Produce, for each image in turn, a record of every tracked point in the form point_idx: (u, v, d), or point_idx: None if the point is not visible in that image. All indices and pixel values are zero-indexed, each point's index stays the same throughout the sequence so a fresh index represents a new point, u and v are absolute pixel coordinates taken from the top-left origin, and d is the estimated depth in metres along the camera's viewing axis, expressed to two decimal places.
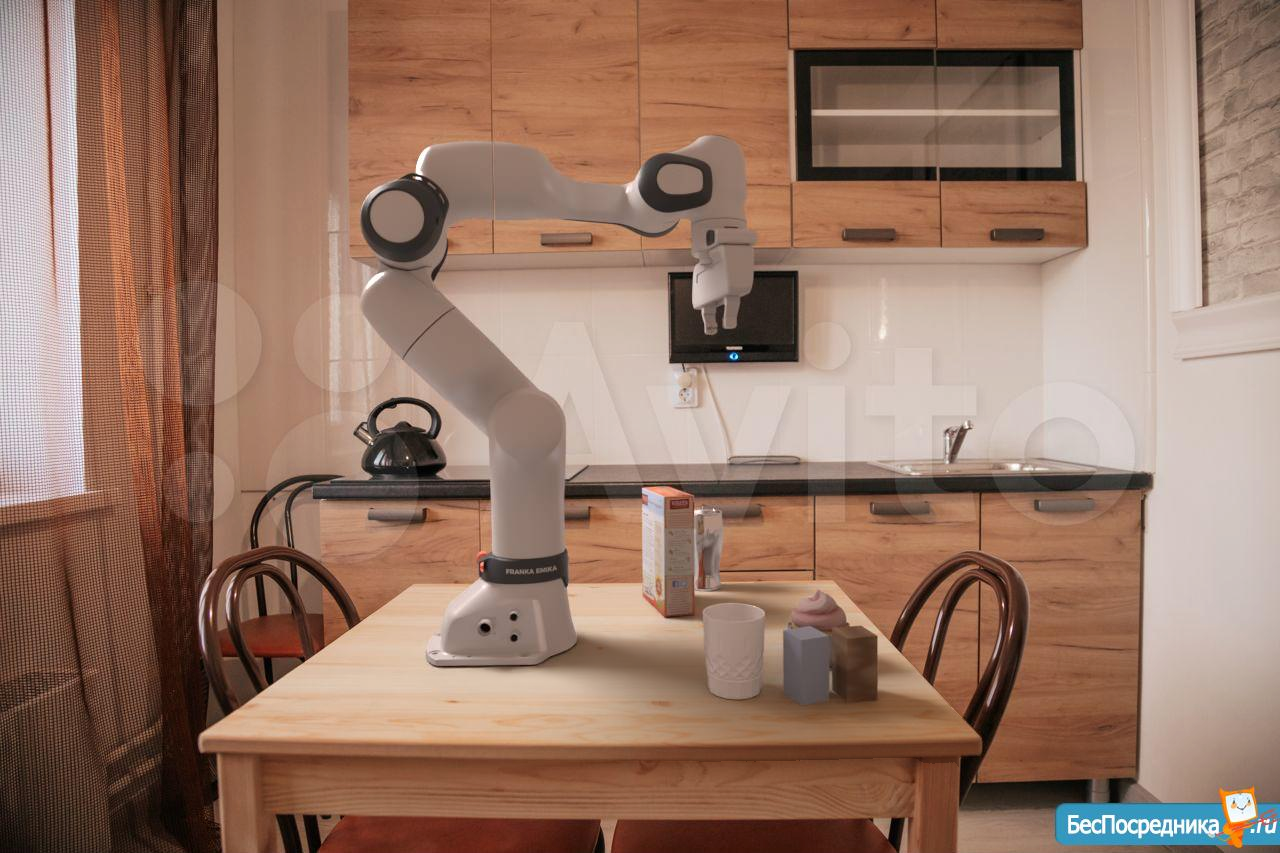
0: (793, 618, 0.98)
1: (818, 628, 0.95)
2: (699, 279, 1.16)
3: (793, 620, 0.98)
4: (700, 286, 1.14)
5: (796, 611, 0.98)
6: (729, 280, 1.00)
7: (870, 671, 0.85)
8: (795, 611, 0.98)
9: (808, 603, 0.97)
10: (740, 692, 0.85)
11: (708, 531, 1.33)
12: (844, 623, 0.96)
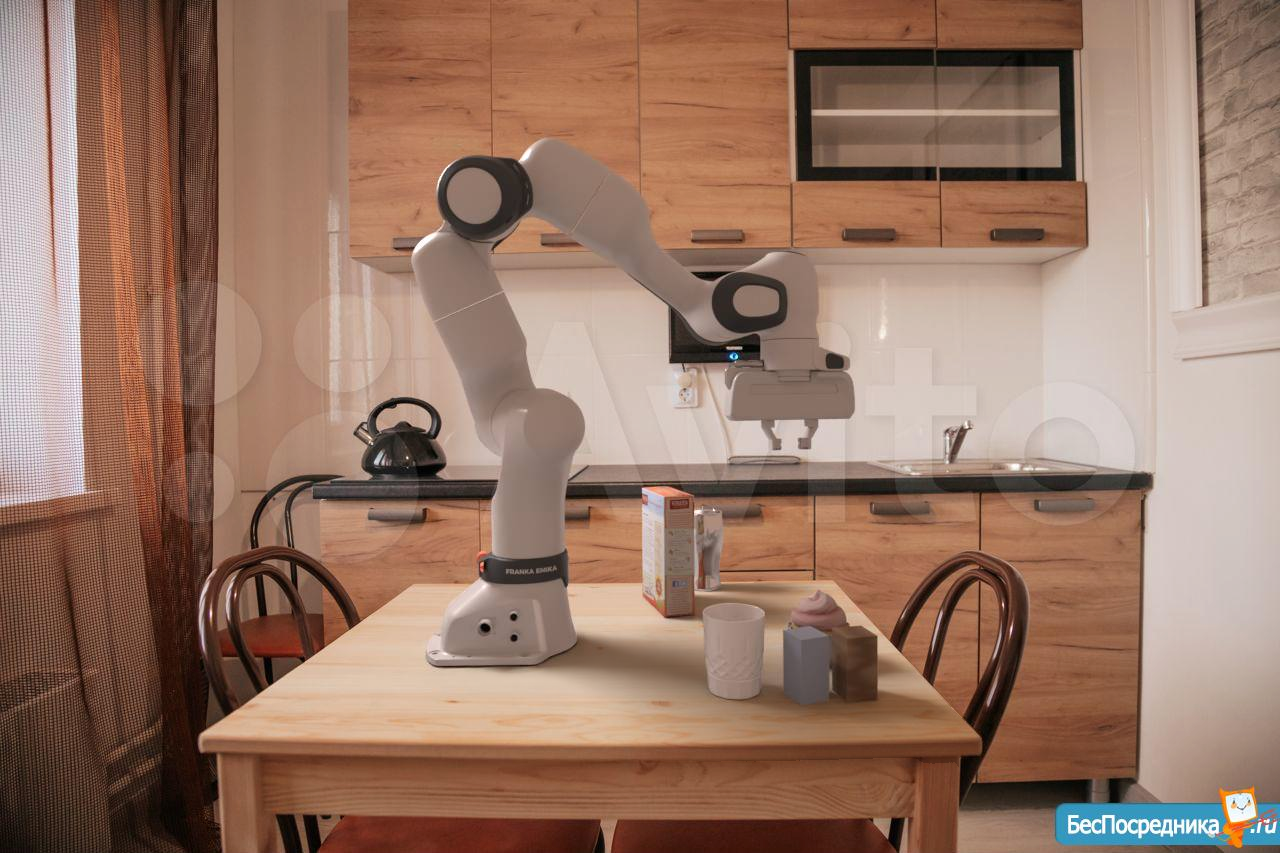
0: (793, 618, 0.98)
1: (818, 628, 0.95)
2: (757, 390, 1.04)
3: (793, 620, 0.98)
4: (765, 398, 1.04)
5: (796, 611, 0.98)
6: (854, 407, 1.07)
7: (870, 671, 0.85)
8: (795, 611, 0.98)
9: (808, 603, 0.97)
10: (740, 692, 0.85)
11: (708, 531, 1.33)
12: (844, 623, 0.96)
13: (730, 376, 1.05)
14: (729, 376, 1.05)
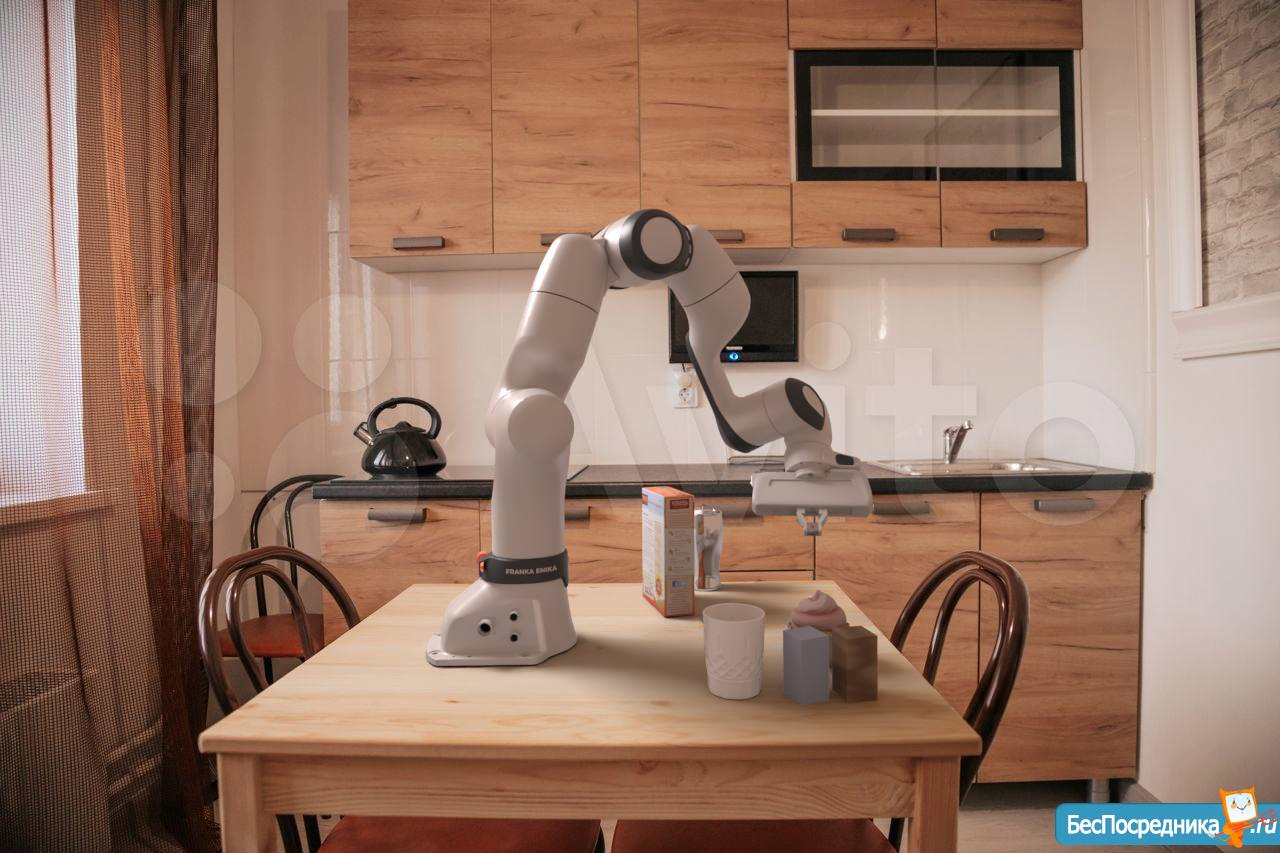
0: (793, 618, 0.98)
1: (818, 628, 0.95)
2: (776, 484, 1.22)
3: (793, 620, 0.98)
4: (783, 489, 1.20)
5: (796, 611, 0.98)
6: (872, 497, 1.17)
7: (870, 671, 0.85)
8: (795, 611, 0.98)
9: (808, 603, 0.97)
10: (740, 692, 0.85)
11: (708, 531, 1.33)
12: (844, 623, 0.96)
13: (755, 478, 1.25)
14: (754, 478, 1.25)
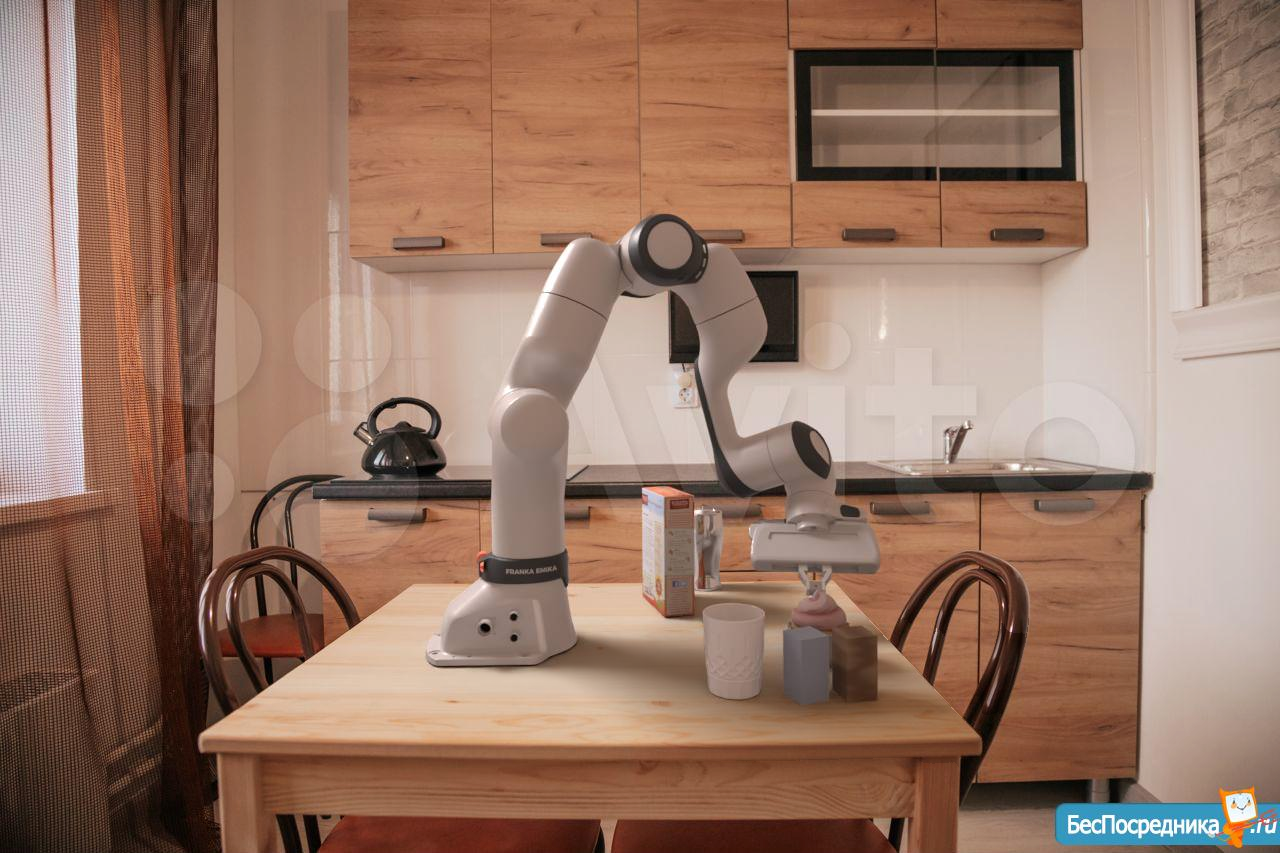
0: (793, 618, 0.98)
1: (818, 628, 0.95)
2: (777, 537, 1.13)
3: (793, 620, 0.98)
4: (784, 543, 1.12)
5: (796, 611, 0.98)
6: None
7: (870, 671, 0.85)
8: (795, 611, 0.98)
9: (808, 603, 0.97)
10: (740, 692, 0.85)
11: (708, 531, 1.33)
12: (844, 623, 0.96)
13: (753, 530, 1.16)
14: (752, 530, 1.16)
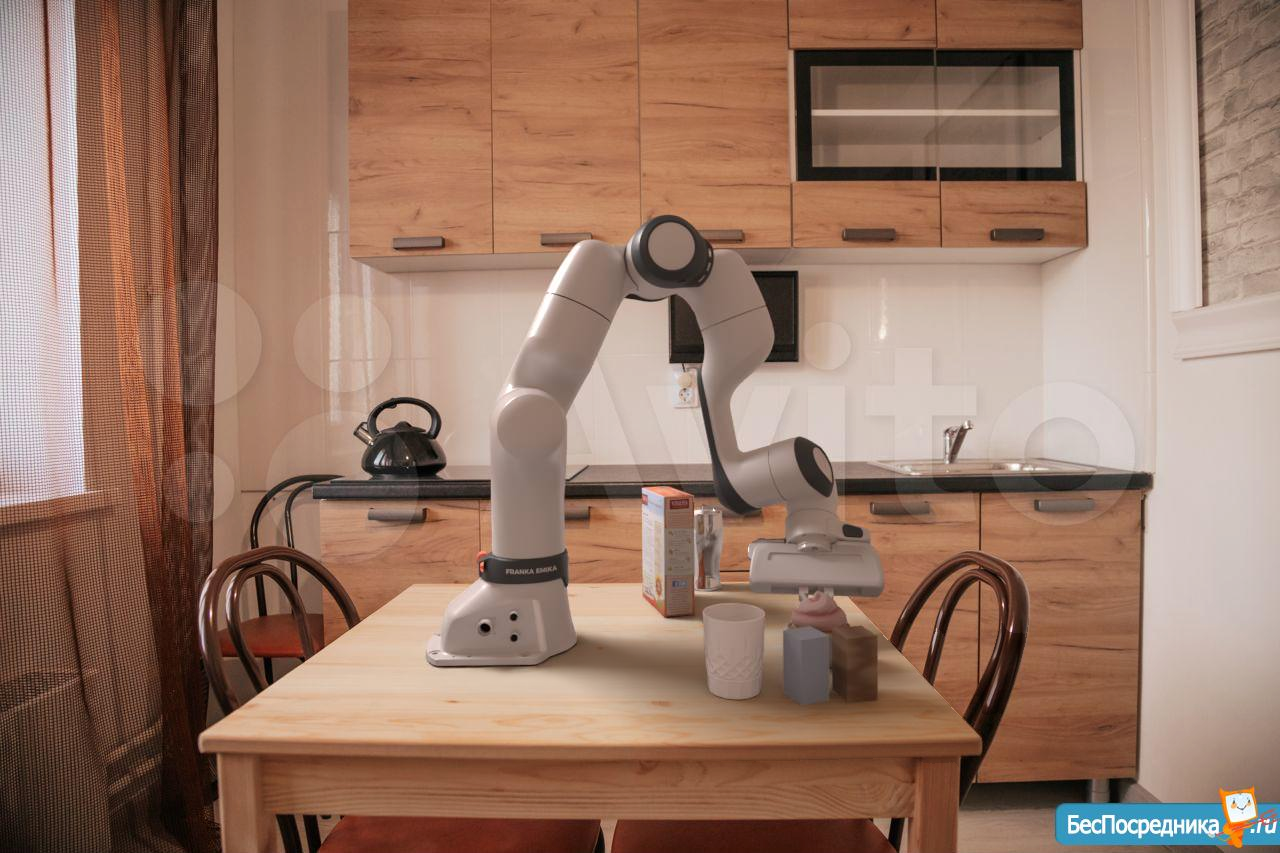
0: (793, 619, 0.97)
1: (818, 629, 0.94)
2: (776, 558, 1.09)
3: (793, 621, 0.97)
4: (784, 564, 1.08)
5: (796, 612, 0.98)
6: None
7: (870, 671, 0.85)
8: (795, 612, 0.98)
9: (808, 604, 0.97)
10: (740, 692, 0.85)
11: (708, 531, 1.33)
12: (844, 624, 0.95)
13: (752, 549, 1.12)
14: (751, 549, 1.12)
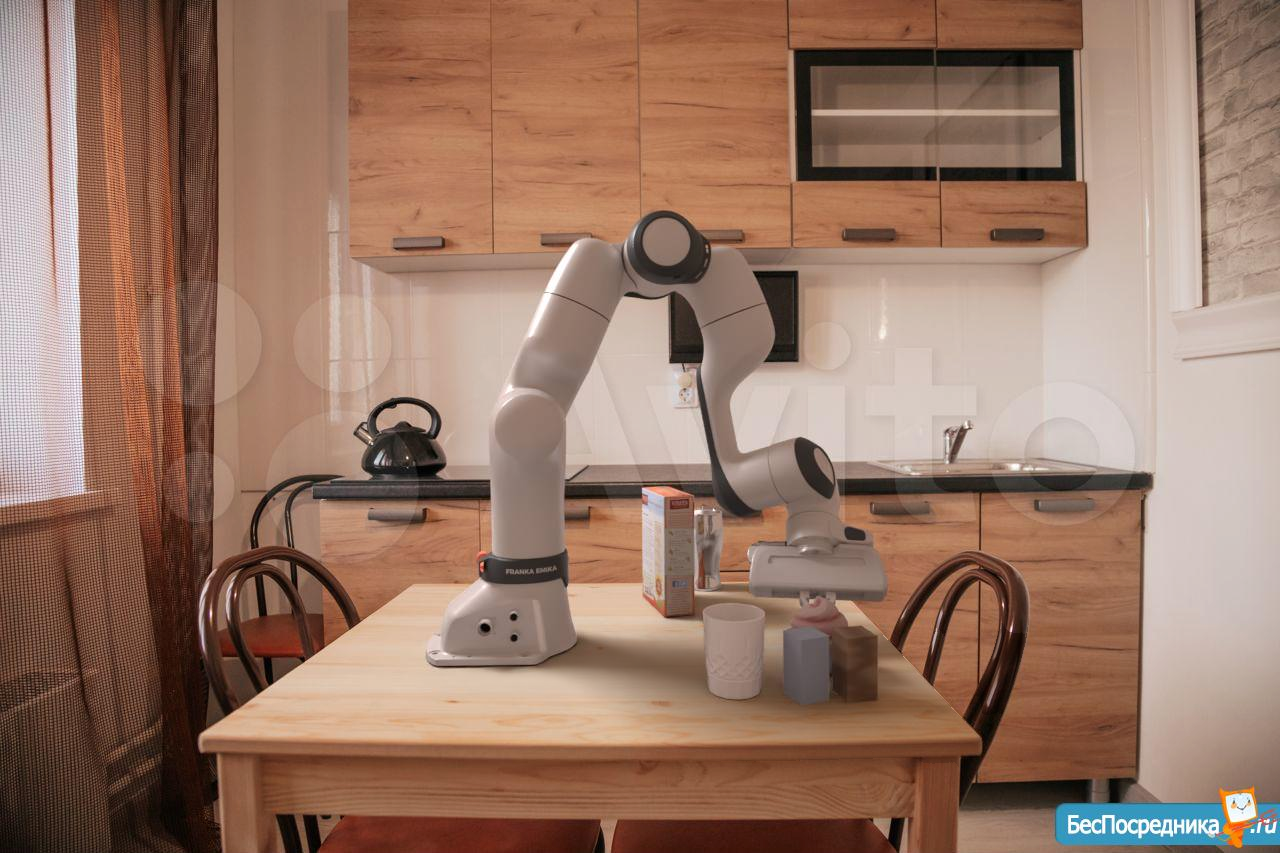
0: (793, 624, 0.95)
1: None
2: (777, 561, 1.07)
3: (793, 627, 0.95)
4: (785, 568, 1.05)
5: (796, 617, 0.95)
6: None
7: (870, 671, 0.85)
8: (795, 617, 0.95)
9: (808, 610, 0.94)
10: (740, 692, 0.85)
11: (708, 531, 1.33)
12: None
13: (752, 553, 1.10)
14: (751, 552, 1.10)
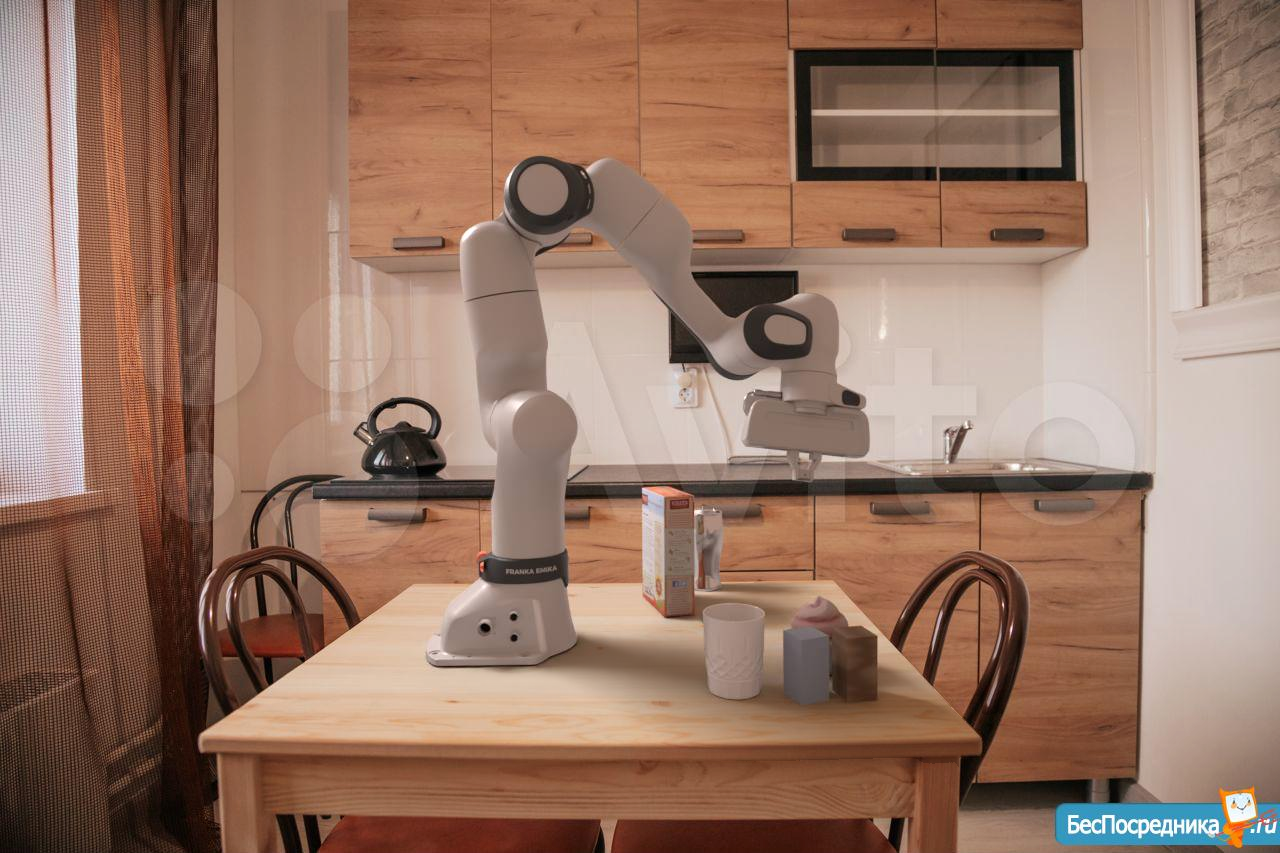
0: (793, 625, 0.95)
1: None
2: (773, 418, 1.09)
3: (793, 627, 0.95)
4: (781, 427, 1.08)
5: (796, 617, 0.95)
6: (869, 446, 1.10)
7: (870, 671, 0.85)
8: (795, 617, 0.96)
9: (808, 610, 0.94)
10: (740, 692, 0.85)
11: (708, 531, 1.33)
12: None
13: (749, 403, 1.10)
14: (748, 403, 1.10)
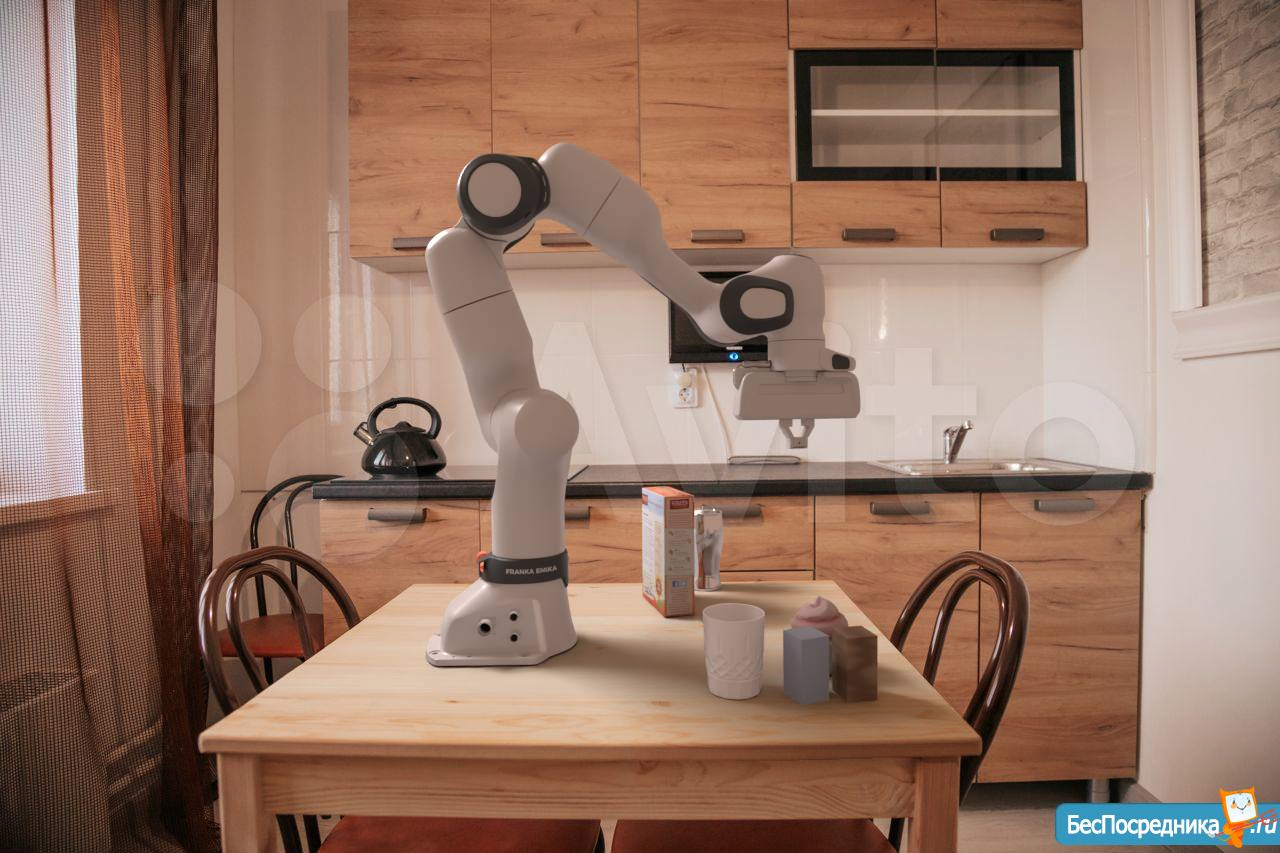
0: (793, 625, 0.95)
1: None
2: (765, 390, 1.07)
3: (793, 627, 0.95)
4: (773, 398, 1.07)
5: (796, 617, 0.95)
6: None
7: (870, 671, 0.85)
8: (795, 617, 0.96)
9: (808, 610, 0.94)
10: (740, 692, 0.85)
11: (708, 531, 1.33)
12: None
13: (738, 376, 1.07)
14: (737, 376, 1.07)
